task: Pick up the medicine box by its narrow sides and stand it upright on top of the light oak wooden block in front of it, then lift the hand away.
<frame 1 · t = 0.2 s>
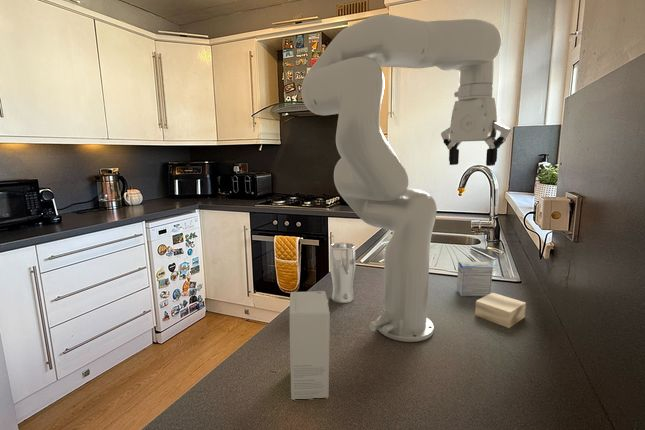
hand: (471, 165, 88), 36 cm above the counter, tool pointing down, fingers open, 9 cm apart
oak block: (499, 317, 84), on the counter
beer glass: (342, 299, 95), on the counter
skincare box: (310, 385, 60), on the counter
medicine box: (473, 294, 97), on the counter
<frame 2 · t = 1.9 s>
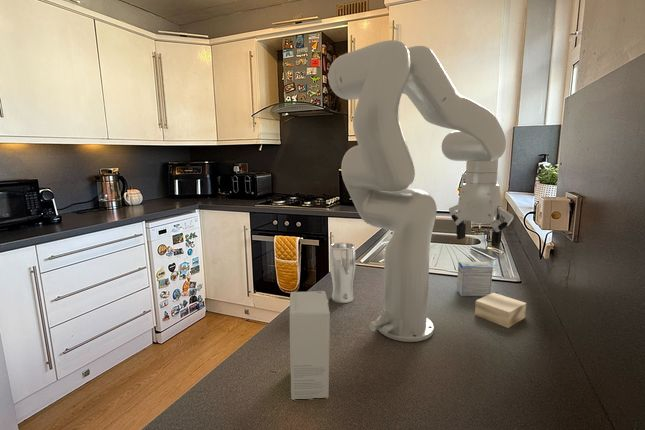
hand: (477, 241, 95), 15 cm above the counter, tool pointing down, fingers open, 9 cm apart
nothing on the counter moved.
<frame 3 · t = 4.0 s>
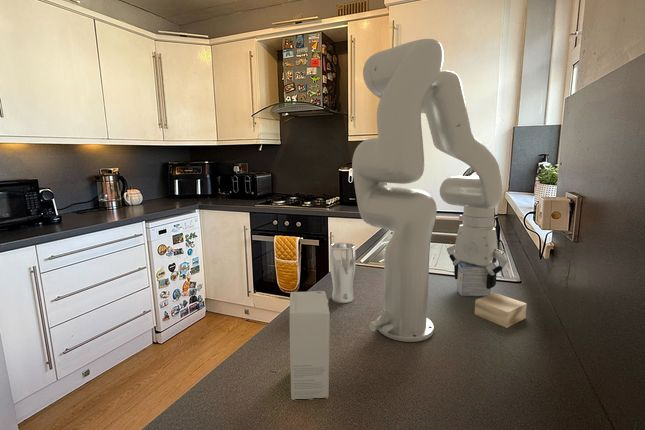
hand: (473, 282, 97), 3 cm above the counter, tool pointing down, fingers closed on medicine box, 8 cm apart
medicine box: (473, 294, 97), on the counter, touching gripper
everything else where it was.
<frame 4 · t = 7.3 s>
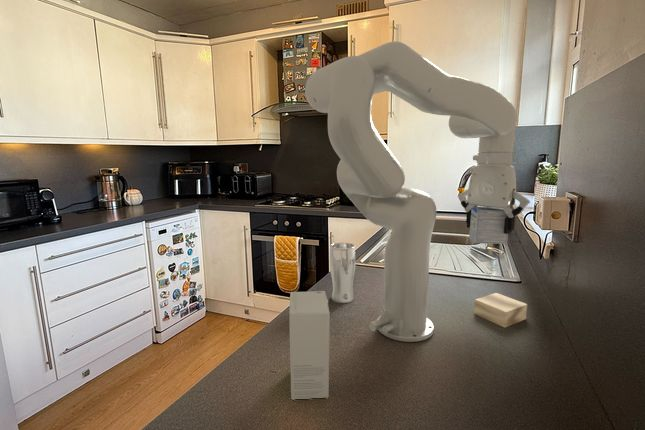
hand: (488, 229, 88), 20 cm above the counter, tool pointing down, fingers closed on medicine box, 8 cm apart
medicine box: (487, 242, 88), point 16 cm above the counter, touching gripper
everything else where it was.
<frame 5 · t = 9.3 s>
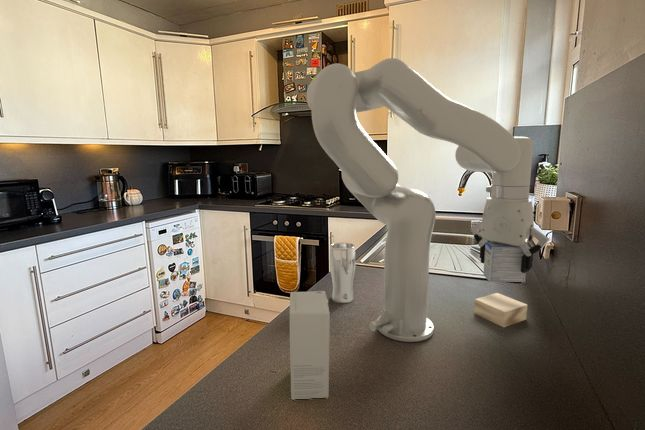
hand: (504, 266, 82), 13 cm above the counter, tool pointing down, fingers closed on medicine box, 8 cm apart
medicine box: (503, 280, 82), point 9 cm above the counter, touching gripper
everything else where it was.
when the fingers open (8 cm above the counter, at t = 10.7 s): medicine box drops 2 cm, resting on oak block.
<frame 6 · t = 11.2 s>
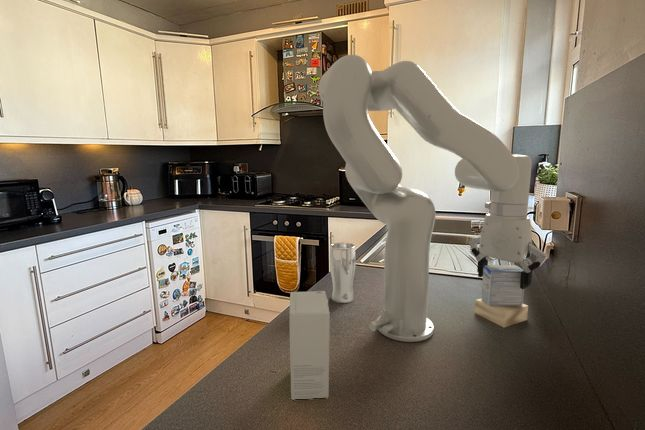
hand: (502, 281, 82), 9 cm above the counter, tool pointing down, fingers open, 9 cm apart
oak block: (500, 318, 84), on the counter, touching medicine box
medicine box: (501, 303, 83), point 3 cm above the counter, touching oak block
everything else where it was.
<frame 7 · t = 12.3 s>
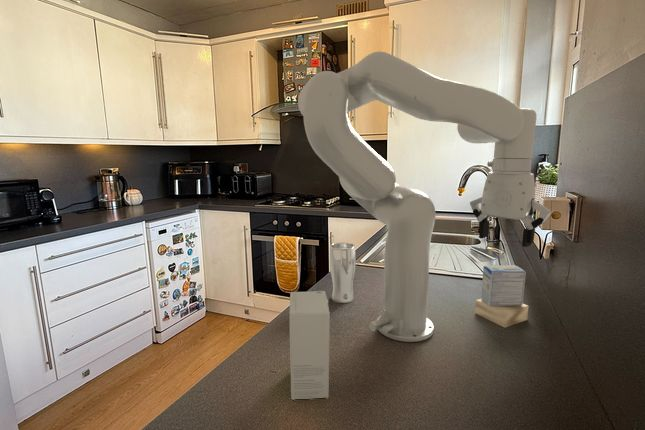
hand: (504, 241, 81), 19 cm above the counter, tool pointing down, fingers open, 9 cm apart
nothing on the counter moved.
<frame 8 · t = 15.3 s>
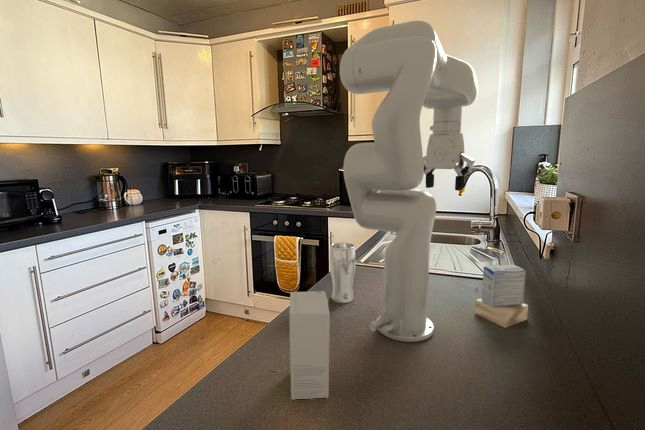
hand: (443, 188, 103), 28 cm above the counter, tool pointing down, fingers open, 9 cm apart
oak block: (500, 318, 84), on the counter
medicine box: (501, 303, 83), point 3 cm above the counter
everything else where it was.
at the end: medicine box 0.1 cm off-centre on the oak block, point 3.8 cm above the oak block's base; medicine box tilted 0°; the gripper is holding nothing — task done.
